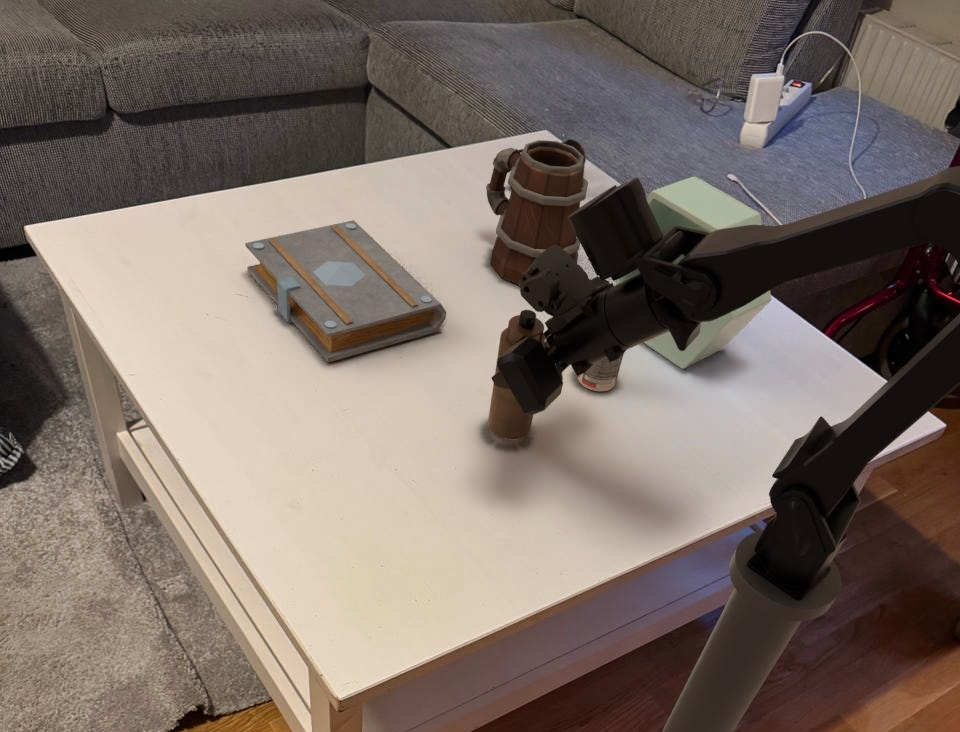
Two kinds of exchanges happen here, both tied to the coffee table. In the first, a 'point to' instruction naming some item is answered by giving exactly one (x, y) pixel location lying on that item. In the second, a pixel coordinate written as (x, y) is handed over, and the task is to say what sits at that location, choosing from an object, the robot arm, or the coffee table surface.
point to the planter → (695, 210)
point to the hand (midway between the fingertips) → (506, 370)
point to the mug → (535, 203)
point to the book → (343, 290)
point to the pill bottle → (601, 375)
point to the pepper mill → (504, 406)
